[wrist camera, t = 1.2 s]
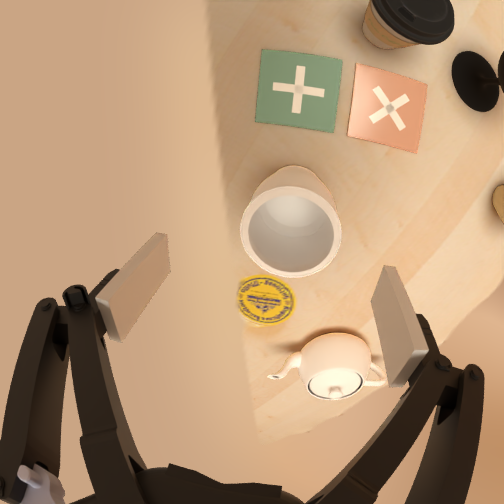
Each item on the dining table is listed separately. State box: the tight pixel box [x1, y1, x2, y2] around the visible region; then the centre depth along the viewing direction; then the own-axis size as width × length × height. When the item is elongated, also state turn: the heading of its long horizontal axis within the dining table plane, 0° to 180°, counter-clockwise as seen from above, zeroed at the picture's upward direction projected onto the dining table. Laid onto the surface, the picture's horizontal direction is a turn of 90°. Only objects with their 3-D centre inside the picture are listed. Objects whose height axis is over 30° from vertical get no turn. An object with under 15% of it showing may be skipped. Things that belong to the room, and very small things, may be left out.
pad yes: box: [255, 49, 342, 133], centre depth 33 cm, size 11×11×1 cm
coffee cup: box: [362, 0, 454, 49], centre depth 20 cm, size 9×9×15 cm
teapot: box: [267, 333, 387, 400], centre depth 51 cm, size 25×16×12 cm, turn 83°
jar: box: [240, 166, 342, 278], centre depth 35 cm, size 11×10×15 cm
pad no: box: [347, 63, 427, 154], centre depth 32 cm, size 11×11×1 cm
